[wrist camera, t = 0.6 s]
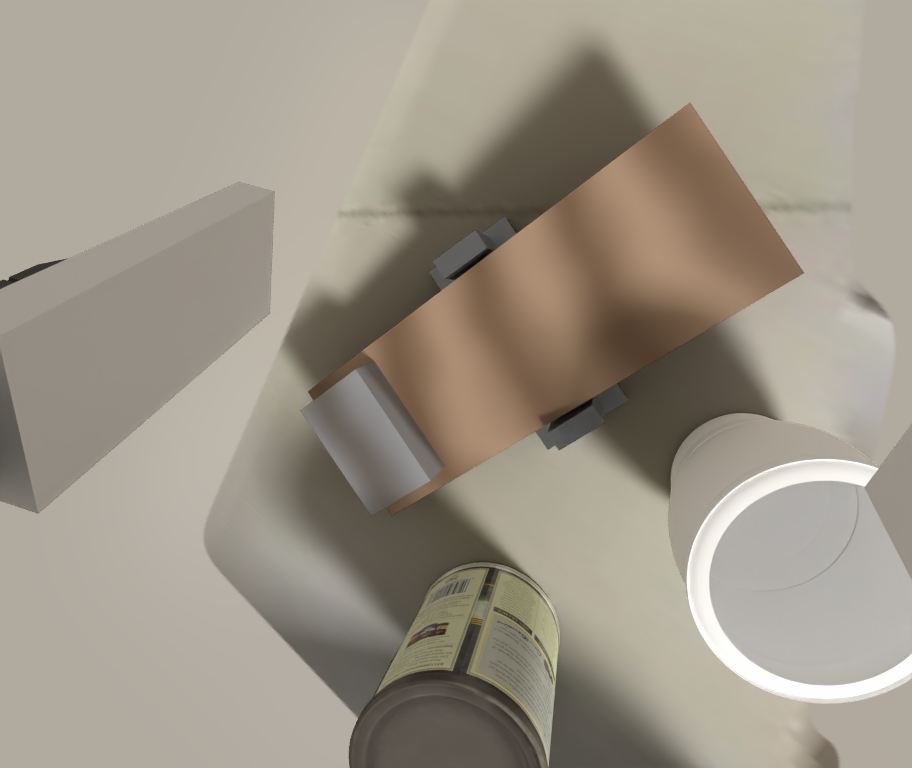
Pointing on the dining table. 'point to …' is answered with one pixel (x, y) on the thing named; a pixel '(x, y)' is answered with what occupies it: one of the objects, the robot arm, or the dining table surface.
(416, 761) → the coffee can
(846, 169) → the dining table surface
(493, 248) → the pivot stand
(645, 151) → the beam
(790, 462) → the jar
